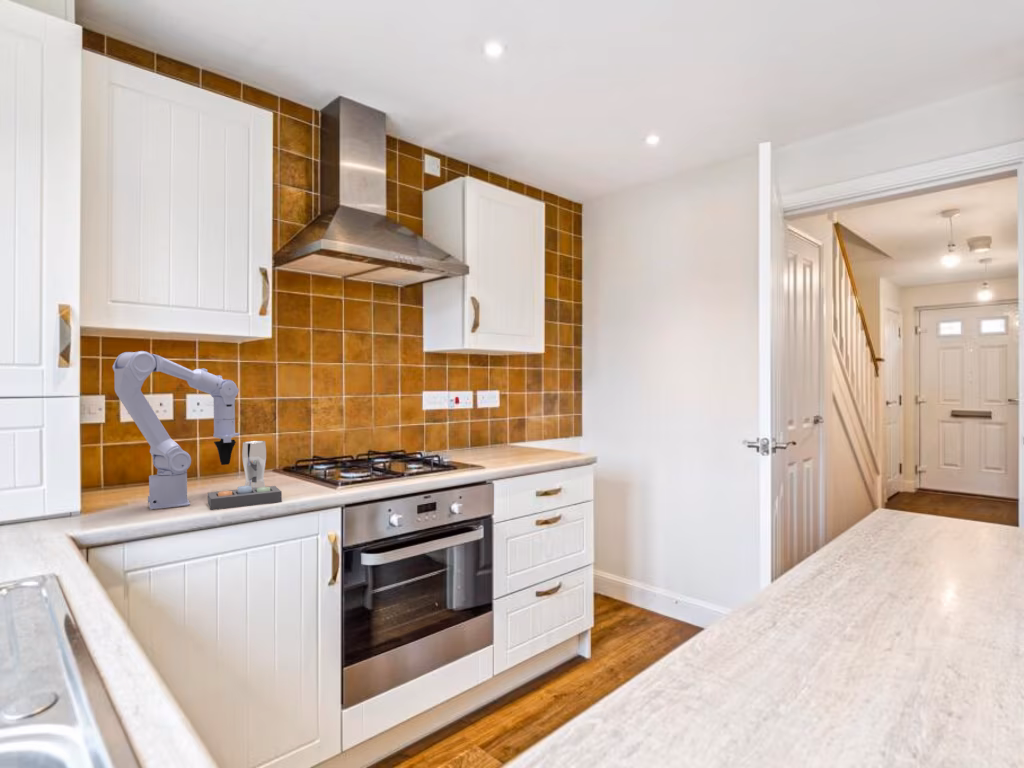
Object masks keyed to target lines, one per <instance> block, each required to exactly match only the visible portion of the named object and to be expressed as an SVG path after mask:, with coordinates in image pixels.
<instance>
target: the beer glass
mask: <svg viewBox="0 0 1024 768" xmlns="http://www.w3.org/2000/svg"><path fill="white" fill-rule="evenodd" d="M241 453H242V454H241V456H242V457H241V458H242V465H243V470H244V476H245V484H244V486H252V488H259V487H266V485H265V479H264V477H265V470H266V463H267V447H266V441H265V440H249V441H243V442H242V452H241Z"/></svg>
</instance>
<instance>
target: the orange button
mask: <svg viewBox="0 0 1024 768" xmlns="http://www.w3.org/2000/svg"><path fill="white" fill-rule="evenodd" d="M220 491H221V490H220ZM220 491H217V492H218V496H226V495H232V491H230V490H222V491H221V492H220Z"/></svg>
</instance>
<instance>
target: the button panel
mask: <svg viewBox="0 0 1024 768" xmlns="http://www.w3.org/2000/svg"><path fill="white" fill-rule="evenodd" d="M268 487H270V491H264V492H257V488H252V493H245V494H238V489H233V490H229V491H232V495H226V496H218V492H221V490H220V491H211V492H207V505H208V507H209V509H210V511H214V510H213V509H217V510H222V509H223V510H225V509H231V508H232V509H233V508H241V507H249V506H250V507H251V506H256V505H267V504H274V503H282V502H283V499H282V497H283V496H282V490H281V489H279V487H277V486H276V485H271V486H268ZM259 488H260V487H259Z"/></svg>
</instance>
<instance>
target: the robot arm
mask: <svg viewBox="0 0 1024 768" xmlns="http://www.w3.org/2000/svg"><path fill="white" fill-rule="evenodd" d="M112 370H113V372H114V374H113V375H114V392H115V394H116V396H117V398H119V401H120V402H121V404H123V407H124V408H125V410H126V411H127V412H128V414H129V416H130V417H131V419H132V420H133V422H134V423H135V425H136V426H137V428H138V430H139V431H140V432H141V434H142V436H143V437H144V438H145V440H146V442H147V443H148V445H149V446H150V449H149V453H150V455H151V457H152V465H153V466H154V467H155V469H157V472H156V474H154V475H153V474H151V475H149V476H148V487H149V490H148V493H149V494H148V496H147V503H149V510H158V509H168V508H177V507H187V506H190V505H191V504H190V500H189V499H188V469H189V468H190V466H191V465H192V457H191V455H190V454H189V452H187V451H185V450H183V448H182V447H181V446H180V445H179V444H178V443H177V442H176V441H175V440H174V439H172V438H171V436H170V435H169V433H168V430H166V428H165V427H164V425H163V424H162V422H161V420H160V418H159V417H158V415H157V414H156V413H155V410H153V407H152V406H151V405H150V403H149V401H148V400H147V397H146V396H145V395H144V393H143V392H142V390H141V389H142V387H143V385H144V382H145V381H146V380H147V378H148V377H149V376H150V375H151V374H152V373H154V372H156V373H158V372H161V373H163V374H166V375H168V376H172V377H174V378H178V379H180V380H183V381H186V382H187V384H188V386H189V387H190V388H193V389H195V390H198V391H200V392H203V393H205V394H208V395H210V396H211V397H212V398H213V438H216V439H220V440H215V441H213V443H214V445H215V447H216V450H217V452H218V457H219V461H220V465H221V466H226V465H230V464H231V463H230V462H231V458H232V453H233V450H234V447H235V446H236V443H237V442H236V441H235V439H232V438H235V437H239V436H240V435H241V434H240V433H239V432H236V409H235V406H236V397H237V396H238V394H239V391H240V389H239V388H238V386H237V384H236V383H235V382H234V381H233V380H232V379H224V378H223V376H222V375H220V374H219V375H217V374H216V375H215V374H213V373H210V372H208V369H206V368H204V367H203V368H196V369H193V370H192V369H190V368H187V367H186V366H183V365H181V364H179V363H176V362H174V361H172V360H169V359H168V358H165V357H163V356H161V355H159V354H154V353H150V352H148V351H146V350H145V351H144V350H140V351H139V350H138V351H135V352H133V351H125V352H122V353H120V354H118V356H117V357H116V359H115V360H114V362H113V365H112Z"/></svg>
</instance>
